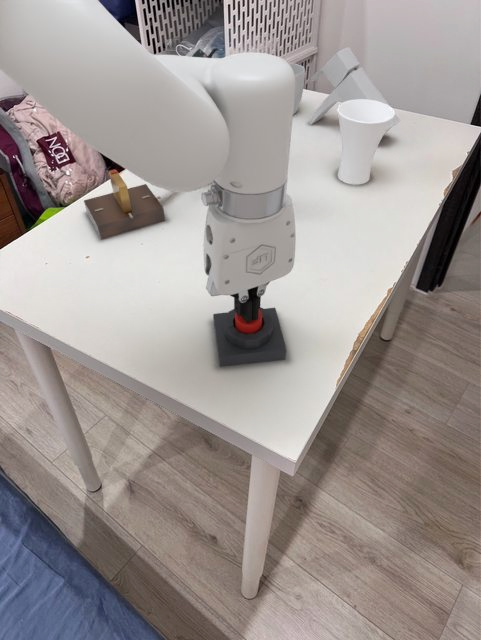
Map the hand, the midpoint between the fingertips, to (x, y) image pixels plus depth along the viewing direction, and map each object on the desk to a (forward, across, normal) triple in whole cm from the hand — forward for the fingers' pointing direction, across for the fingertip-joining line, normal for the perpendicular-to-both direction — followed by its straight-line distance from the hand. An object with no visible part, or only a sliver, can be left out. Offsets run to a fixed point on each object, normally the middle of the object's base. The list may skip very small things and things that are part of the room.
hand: (247, 314), depth 61 cm
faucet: (+5, +52, +46) cm, 70 cm away
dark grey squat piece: (+6, 0, 0) cm, 6 cm away
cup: (+5, +41, +29) cm, 50 cm away
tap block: (+6, -5, +37) cm, 38 cm away
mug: (+5, +43, +62) cm, 76 cm away
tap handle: (+3, -5, +37) cm, 38 cm away
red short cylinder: (+2, 0, 0) cm, 2 cm away
